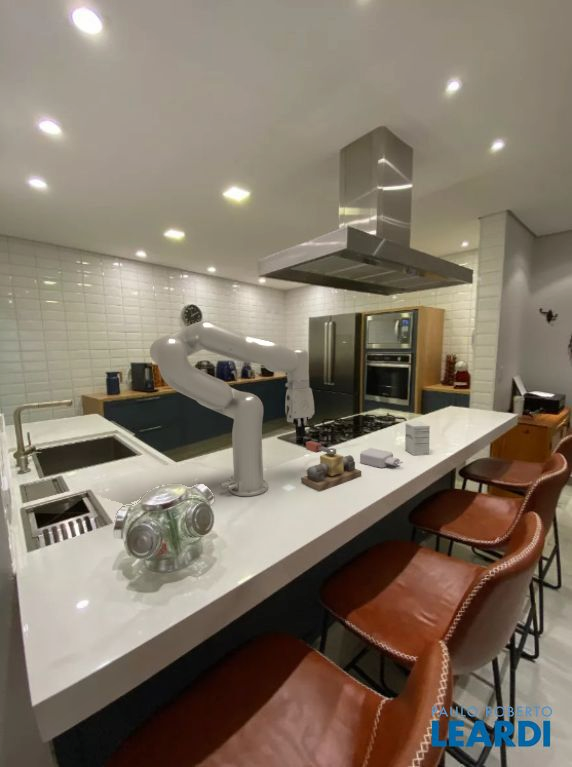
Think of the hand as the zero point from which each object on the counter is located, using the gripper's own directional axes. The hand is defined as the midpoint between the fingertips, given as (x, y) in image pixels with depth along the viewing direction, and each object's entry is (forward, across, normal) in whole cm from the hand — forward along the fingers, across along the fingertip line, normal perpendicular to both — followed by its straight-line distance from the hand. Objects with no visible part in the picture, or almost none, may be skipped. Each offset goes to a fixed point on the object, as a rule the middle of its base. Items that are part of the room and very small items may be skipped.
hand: (300, 436), depth 116 cm
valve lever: (+6, +5, -5) cm, 9 cm away
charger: (+15, +31, -12) cm, 37 cm away
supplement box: (+16, +54, -12) cm, 58 cm away
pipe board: (+14, +5, -10) cm, 18 cm away
